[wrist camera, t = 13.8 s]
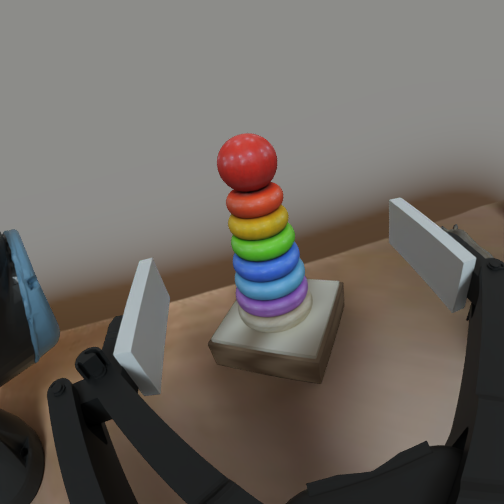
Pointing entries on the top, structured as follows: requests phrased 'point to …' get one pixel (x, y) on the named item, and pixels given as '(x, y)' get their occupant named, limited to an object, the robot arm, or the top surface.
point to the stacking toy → (262, 238)
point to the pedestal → (284, 339)
